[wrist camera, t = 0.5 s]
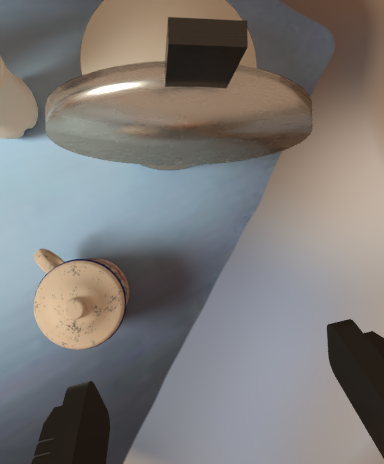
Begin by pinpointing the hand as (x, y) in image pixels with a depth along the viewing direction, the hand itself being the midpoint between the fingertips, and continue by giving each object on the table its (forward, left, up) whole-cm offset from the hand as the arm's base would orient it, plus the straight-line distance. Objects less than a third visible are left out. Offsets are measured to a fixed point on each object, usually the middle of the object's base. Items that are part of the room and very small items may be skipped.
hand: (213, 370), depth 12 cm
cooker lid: (-9, +10, -12) cm, 18 cm away
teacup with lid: (-7, -8, -33) cm, 35 cm away
